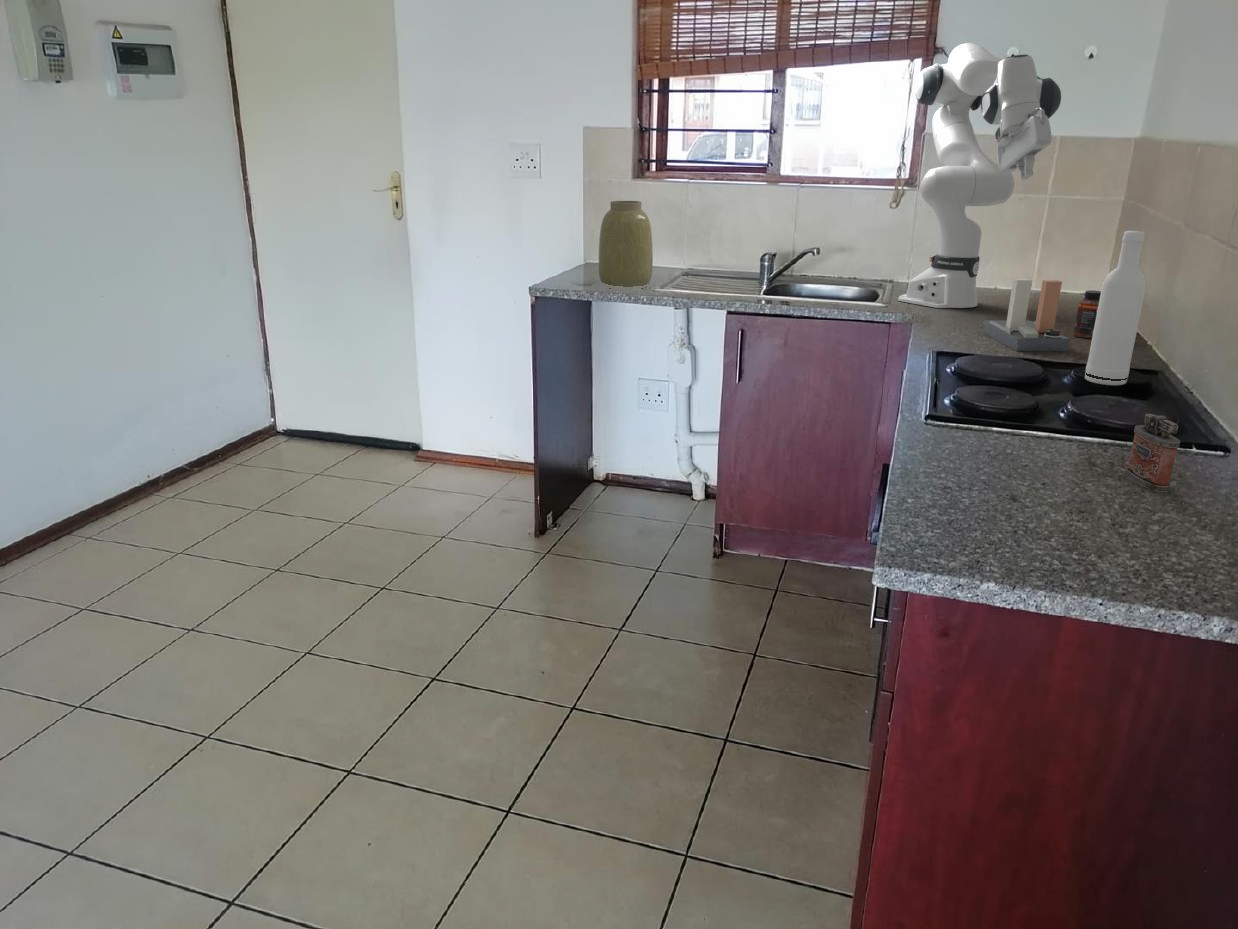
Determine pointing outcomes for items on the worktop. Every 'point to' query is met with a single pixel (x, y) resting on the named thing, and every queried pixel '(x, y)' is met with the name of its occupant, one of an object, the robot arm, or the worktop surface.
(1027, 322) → the platform
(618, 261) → the vase
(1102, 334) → the bottle
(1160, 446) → the lighter
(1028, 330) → the rocker
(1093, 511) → the worktop surface
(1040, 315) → the tall salmon pillar
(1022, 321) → the cream rectangular block
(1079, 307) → the supplement bottle
